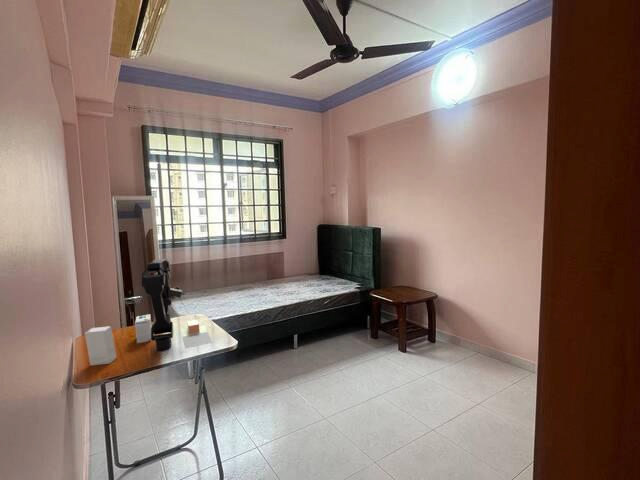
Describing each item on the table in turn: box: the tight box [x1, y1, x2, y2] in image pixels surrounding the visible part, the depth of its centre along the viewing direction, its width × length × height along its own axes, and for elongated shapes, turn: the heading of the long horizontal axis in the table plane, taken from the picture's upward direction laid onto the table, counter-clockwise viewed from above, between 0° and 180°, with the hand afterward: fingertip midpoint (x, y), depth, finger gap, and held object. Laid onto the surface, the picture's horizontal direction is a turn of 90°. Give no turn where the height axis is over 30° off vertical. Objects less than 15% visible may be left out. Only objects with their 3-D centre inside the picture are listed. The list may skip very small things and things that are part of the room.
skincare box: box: [84, 325, 117, 366], centre depth 145 cm, size 8×6×15 cm
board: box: [180, 324, 213, 349], centre depth 168 cm, size 28×12×1 cm, turn 26°
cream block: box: [186, 319, 200, 334], centre depth 176 cm, size 4×5×9 cm
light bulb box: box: [134, 313, 152, 344], centre depth 171 cm, size 11×7×11 cm, turn 25°
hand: (165, 315), depth 167 cm, fingers closed
